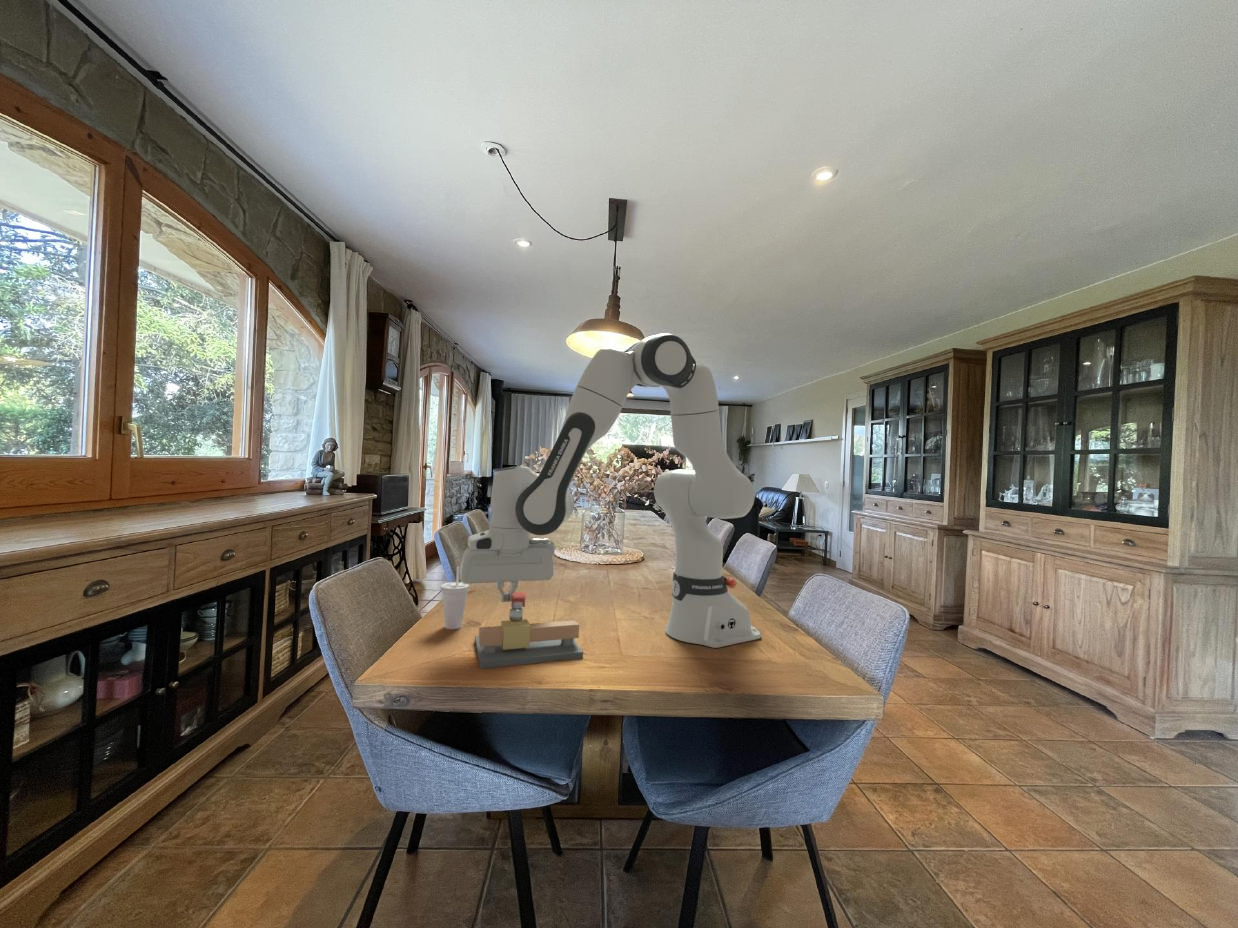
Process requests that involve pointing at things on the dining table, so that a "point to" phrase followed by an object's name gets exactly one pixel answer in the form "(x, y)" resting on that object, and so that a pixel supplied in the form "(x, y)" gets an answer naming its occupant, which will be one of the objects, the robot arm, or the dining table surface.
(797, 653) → the dining table surface
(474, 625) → the dining table surface
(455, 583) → the smoothie
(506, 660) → the board
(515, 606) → the lever
